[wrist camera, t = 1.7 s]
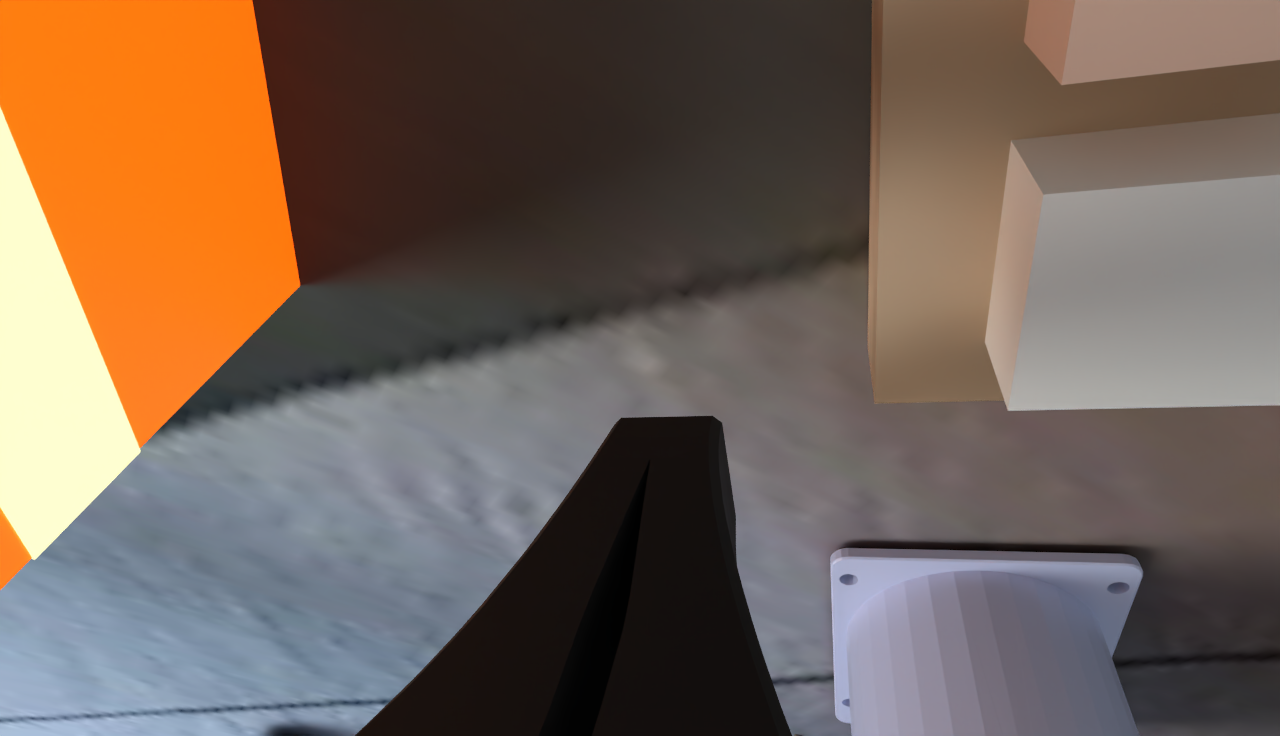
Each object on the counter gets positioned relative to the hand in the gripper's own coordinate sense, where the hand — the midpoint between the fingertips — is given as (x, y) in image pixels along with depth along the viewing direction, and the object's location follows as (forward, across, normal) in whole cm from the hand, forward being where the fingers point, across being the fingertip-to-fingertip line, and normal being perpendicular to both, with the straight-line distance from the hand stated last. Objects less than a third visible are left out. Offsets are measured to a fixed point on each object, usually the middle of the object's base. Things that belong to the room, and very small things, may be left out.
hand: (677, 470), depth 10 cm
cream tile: (+5, -7, 0) cm, 9 cm away
